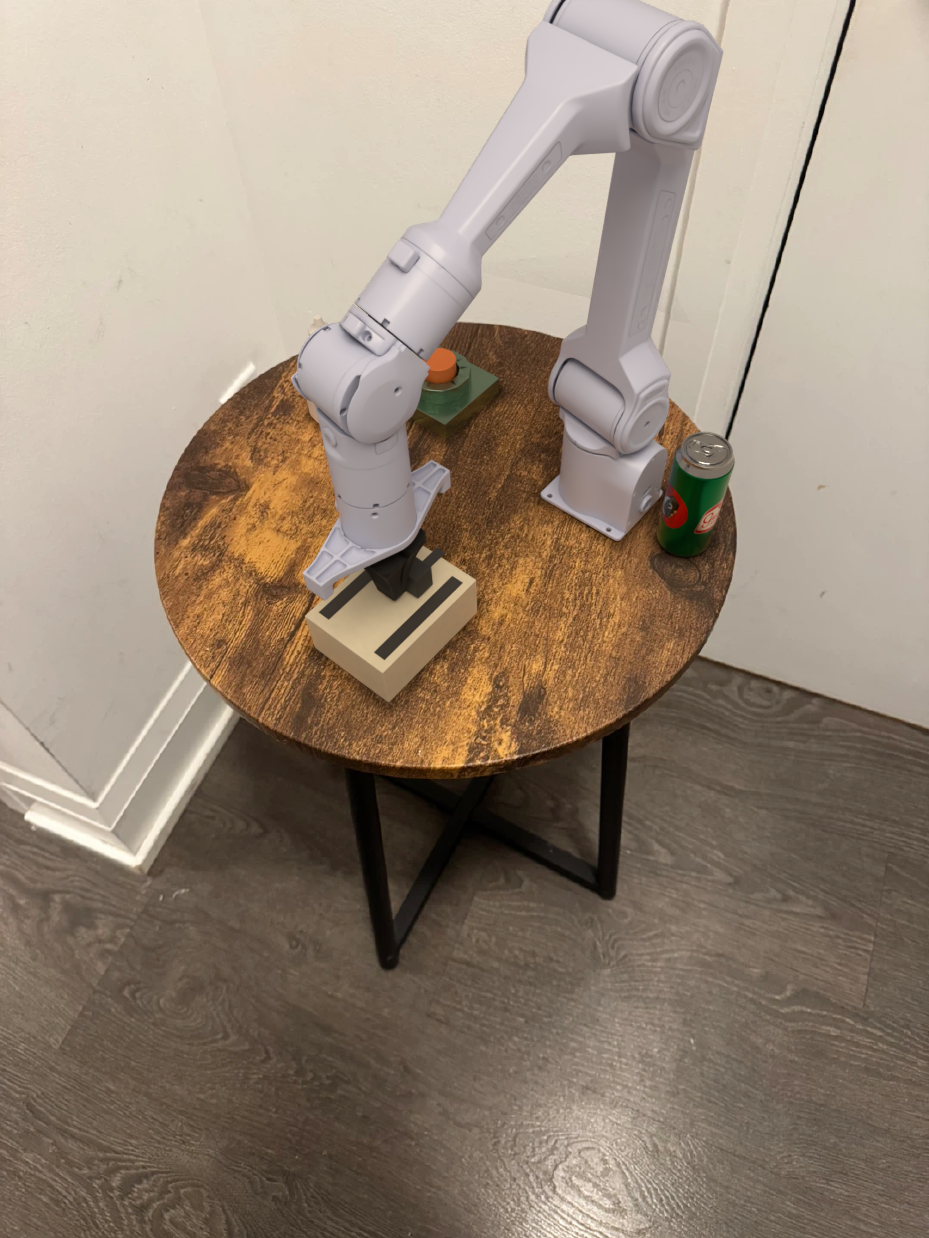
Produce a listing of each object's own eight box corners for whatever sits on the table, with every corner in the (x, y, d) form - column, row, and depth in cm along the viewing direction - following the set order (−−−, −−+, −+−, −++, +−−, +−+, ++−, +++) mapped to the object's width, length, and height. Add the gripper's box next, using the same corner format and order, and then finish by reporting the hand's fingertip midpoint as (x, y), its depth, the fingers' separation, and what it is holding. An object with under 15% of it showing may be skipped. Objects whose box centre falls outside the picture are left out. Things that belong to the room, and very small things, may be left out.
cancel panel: (499, 393, 97) (499, 364, 94) (446, 440, 94) (444, 411, 90) (436, 360, 101) (434, 331, 97) (383, 403, 97) (379, 374, 94)
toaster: (481, 608, 81) (480, 575, 77) (388, 703, 76) (382, 672, 72) (407, 560, 85) (403, 526, 81) (314, 647, 79) (304, 615, 75)
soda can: (697, 568, 83) (724, 479, 73) (647, 547, 85) (667, 458, 75) (717, 531, 86) (746, 440, 76) (667, 512, 87) (690, 420, 77)
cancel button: (463, 370, 94) (463, 357, 93) (441, 388, 93) (440, 375, 91) (437, 356, 96) (436, 343, 94) (415, 374, 94) (414, 361, 93)
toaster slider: (433, 584, 77) (431, 566, 74) (418, 599, 76) (415, 581, 74) (398, 561, 78) (396, 543, 76) (383, 575, 77) (380, 558, 75)
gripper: (398, 401, 69) (412, 516, 80) (260, 513, 63) (296, 621, 74) (468, 441, 66) (473, 555, 77) (331, 563, 60) (357, 667, 71)
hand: (390, 590), depth 75 cm, fingers closed
